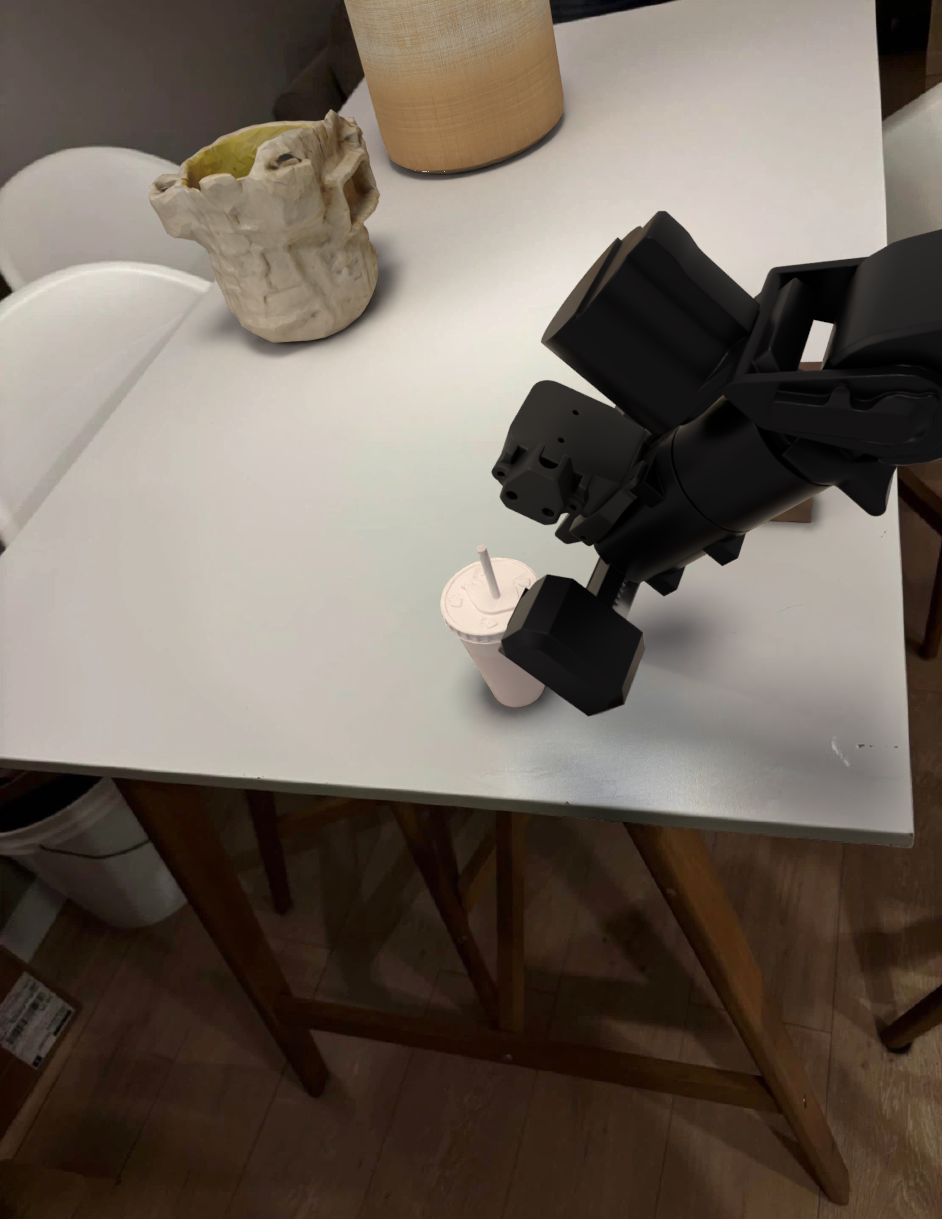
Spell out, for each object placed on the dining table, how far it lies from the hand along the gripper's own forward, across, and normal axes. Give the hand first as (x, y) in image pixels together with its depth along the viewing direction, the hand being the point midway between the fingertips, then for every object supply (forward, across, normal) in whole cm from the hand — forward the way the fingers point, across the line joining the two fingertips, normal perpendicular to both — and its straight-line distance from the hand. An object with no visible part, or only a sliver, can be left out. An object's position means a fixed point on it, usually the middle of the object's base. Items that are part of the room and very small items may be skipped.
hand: (534, 593), depth 52 cm
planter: (+39, -86, -23) cm, 97 cm away
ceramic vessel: (+40, -45, -25) cm, 65 cm away
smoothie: (+10, 0, +5) cm, 11 cm away
